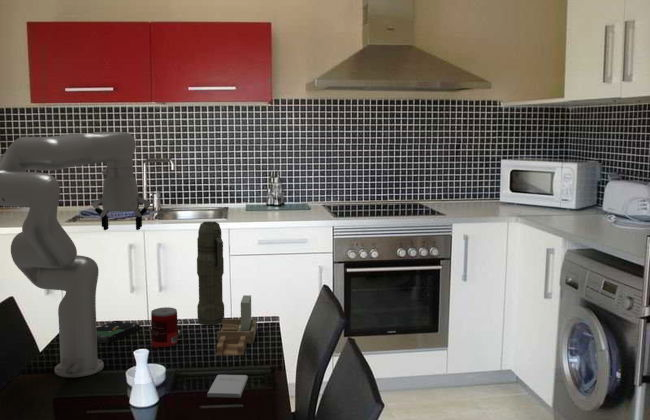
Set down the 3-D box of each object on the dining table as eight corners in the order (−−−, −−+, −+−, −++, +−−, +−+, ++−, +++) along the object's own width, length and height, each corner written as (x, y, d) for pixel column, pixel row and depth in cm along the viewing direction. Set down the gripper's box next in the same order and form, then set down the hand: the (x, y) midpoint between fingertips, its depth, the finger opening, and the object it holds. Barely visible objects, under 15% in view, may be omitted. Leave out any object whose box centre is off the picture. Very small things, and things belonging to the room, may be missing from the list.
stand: (243, 358, 187) (243, 346, 186) (215, 358, 186) (215, 346, 186) (246, 346, 196) (246, 335, 196) (220, 347, 196) (220, 335, 196)
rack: (253, 346, 197) (253, 332, 197) (217, 346, 197) (216, 332, 196) (256, 332, 211) (256, 319, 210) (222, 332, 211) (222, 319, 210)
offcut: (235, 335, 198) (235, 328, 198) (221, 335, 198) (221, 329, 197) (235, 330, 203) (235, 324, 203) (222, 330, 203) (222, 324, 202)
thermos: (214, 330, 212) (212, 225, 208) (189, 324, 219) (187, 222, 215) (233, 324, 219) (232, 222, 215) (208, 318, 226) (207, 219, 222)
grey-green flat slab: (249, 340, 199) (248, 302, 198) (240, 340, 199) (240, 302, 198) (251, 331, 208) (251, 295, 207) (243, 331, 208) (243, 295, 207)
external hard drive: (207, 399, 159) (217, 379, 171) (240, 399, 159) (248, 380, 171) (207, 392, 159) (217, 373, 171) (240, 393, 159) (247, 374, 171)
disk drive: (116, 328, 216) (83, 340, 203) (115, 320, 216) (82, 332, 202) (140, 332, 212) (108, 345, 199) (140, 324, 212) (108, 336, 198)
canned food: (176, 340, 202) (175, 306, 201) (179, 348, 195) (178, 313, 193) (151, 342, 200) (150, 308, 198) (152, 351, 192) (151, 315, 191)
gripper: (87, 174, 190) (89, 231, 193) (146, 174, 192) (148, 231, 194) (94, 172, 198) (96, 227, 200) (151, 172, 199) (153, 227, 201)
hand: (122, 229), depth 197 cm, fingers open, 9 cm apart
